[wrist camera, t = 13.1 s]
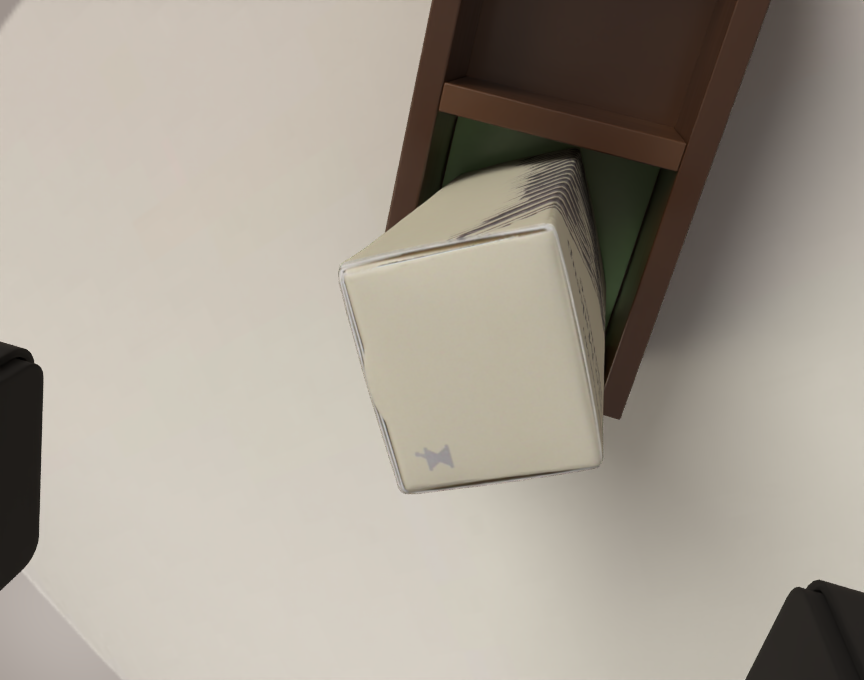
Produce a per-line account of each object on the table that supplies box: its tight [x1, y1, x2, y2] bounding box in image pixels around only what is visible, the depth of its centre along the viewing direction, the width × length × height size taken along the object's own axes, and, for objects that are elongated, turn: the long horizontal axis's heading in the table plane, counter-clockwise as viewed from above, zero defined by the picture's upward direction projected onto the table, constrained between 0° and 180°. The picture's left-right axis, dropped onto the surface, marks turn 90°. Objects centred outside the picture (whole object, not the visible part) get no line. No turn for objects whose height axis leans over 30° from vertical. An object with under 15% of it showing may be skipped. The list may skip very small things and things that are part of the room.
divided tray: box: [385, 0, 771, 419], centre depth 24 cm, size 8×16×5 cm, turn 167°
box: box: [338, 147, 606, 494], centre depth 21 cm, size 5×4×13 cm
